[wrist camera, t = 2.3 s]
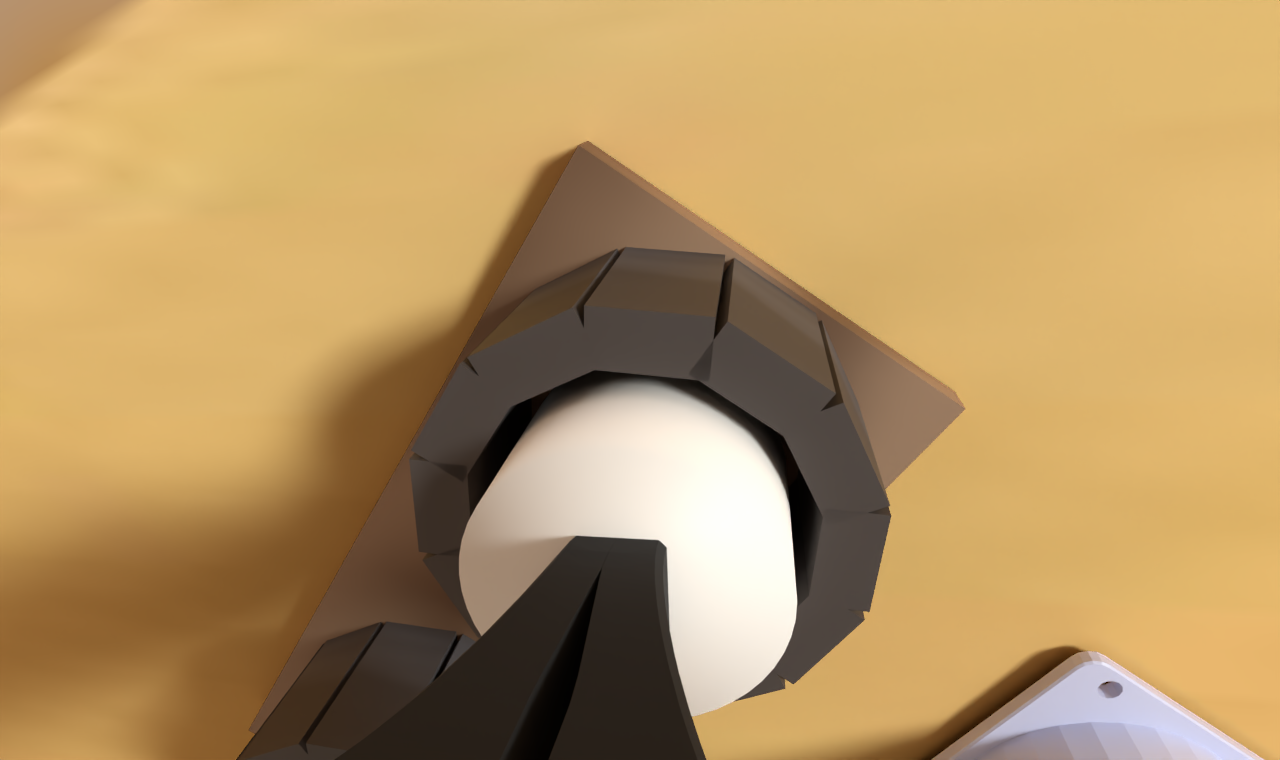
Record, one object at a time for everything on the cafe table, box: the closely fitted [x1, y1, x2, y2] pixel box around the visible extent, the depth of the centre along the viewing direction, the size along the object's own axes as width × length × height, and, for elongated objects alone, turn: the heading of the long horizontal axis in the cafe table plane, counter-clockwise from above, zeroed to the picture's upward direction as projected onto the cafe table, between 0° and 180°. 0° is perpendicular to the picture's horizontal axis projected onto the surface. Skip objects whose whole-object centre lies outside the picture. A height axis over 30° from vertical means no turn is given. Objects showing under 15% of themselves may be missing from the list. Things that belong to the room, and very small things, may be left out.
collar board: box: [236, 141, 965, 760], centre depth 16 cm, size 9×20×4 cm, turn 147°
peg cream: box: [459, 370, 797, 716], centre depth 12 cm, size 5×5×4 cm
